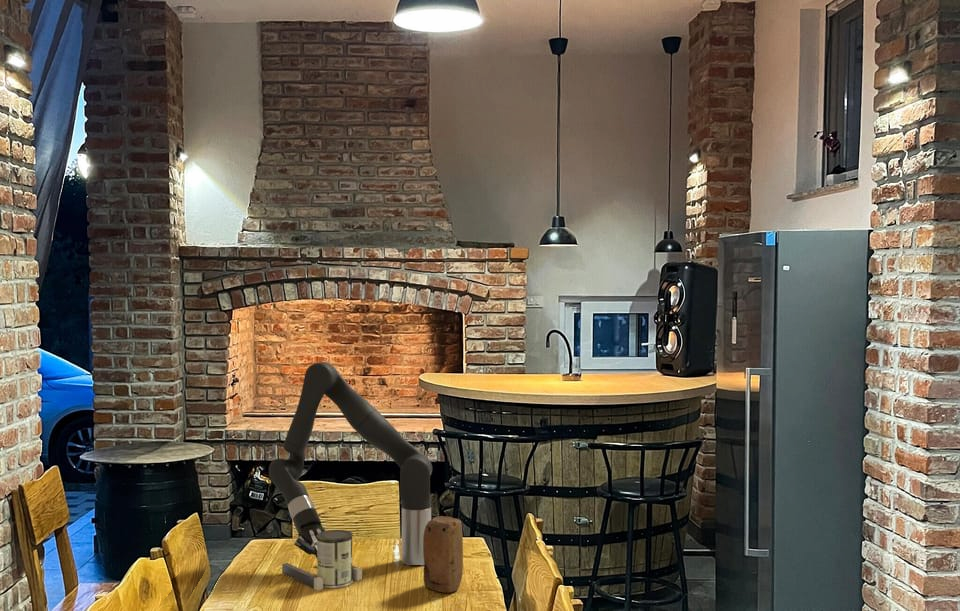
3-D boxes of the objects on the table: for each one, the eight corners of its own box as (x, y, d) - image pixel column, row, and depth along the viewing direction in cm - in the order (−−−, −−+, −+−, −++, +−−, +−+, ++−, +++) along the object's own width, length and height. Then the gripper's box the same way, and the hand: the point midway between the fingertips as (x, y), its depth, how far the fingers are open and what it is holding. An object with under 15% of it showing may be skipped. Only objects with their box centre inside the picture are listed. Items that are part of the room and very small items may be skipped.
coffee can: (327, 575, 260) (327, 528, 260) (358, 579, 256) (358, 531, 256) (310, 586, 250) (310, 537, 250) (342, 590, 247) (342, 540, 247)
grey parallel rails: (325, 564, 271) (325, 554, 271) (361, 579, 256) (361, 569, 256) (282, 573, 261) (282, 563, 261) (317, 590, 246) (317, 579, 246)
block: (465, 588, 248) (465, 518, 248) (450, 596, 242) (450, 524, 242) (434, 581, 254) (434, 513, 254) (418, 589, 248) (419, 518, 248)
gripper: (288, 510, 260) (309, 561, 251) (327, 504, 269) (349, 552, 260) (280, 525, 264) (300, 575, 255) (318, 517, 273) (339, 566, 264)
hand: (324, 563), depth 257 cm, fingers closed
